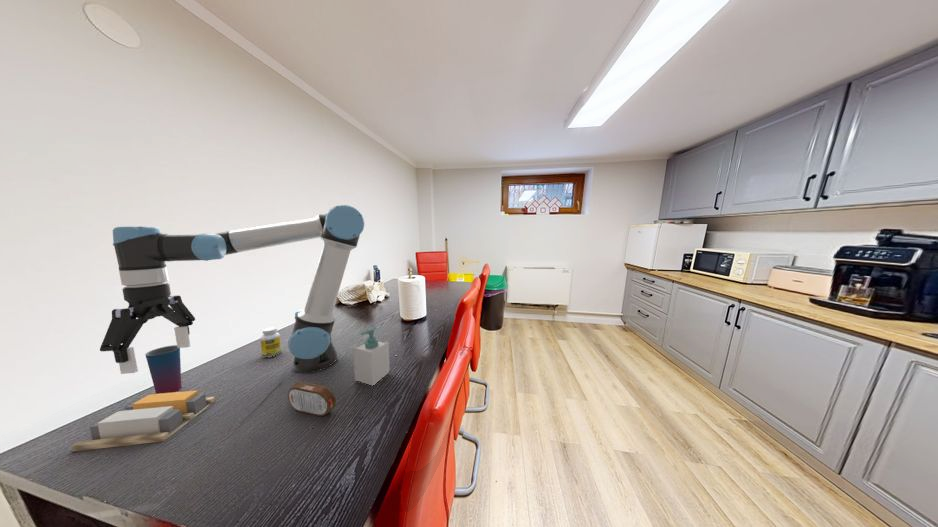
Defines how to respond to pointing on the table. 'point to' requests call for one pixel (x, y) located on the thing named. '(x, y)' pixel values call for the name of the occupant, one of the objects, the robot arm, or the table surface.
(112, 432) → the grey-capped white block
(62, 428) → the table surface
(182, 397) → the grey-capped orange block
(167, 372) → the cup
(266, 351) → the pill bottle
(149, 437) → the comb board
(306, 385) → the tin
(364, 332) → the soap bottle
